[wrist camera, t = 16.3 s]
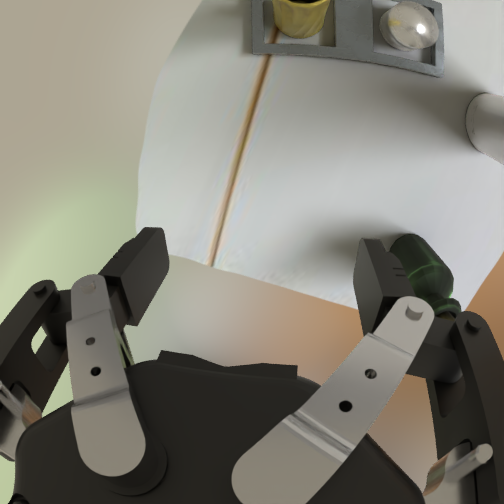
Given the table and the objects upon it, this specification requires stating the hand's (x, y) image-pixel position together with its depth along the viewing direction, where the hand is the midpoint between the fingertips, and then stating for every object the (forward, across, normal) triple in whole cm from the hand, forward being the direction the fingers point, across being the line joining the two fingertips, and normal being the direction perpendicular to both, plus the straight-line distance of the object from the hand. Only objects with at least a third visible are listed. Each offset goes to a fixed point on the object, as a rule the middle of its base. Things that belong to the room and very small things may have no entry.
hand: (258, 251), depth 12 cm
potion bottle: (+28, -20, +16) cm, 38 cm away
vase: (+28, -2, -16) cm, 33 cm away
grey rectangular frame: (+28, -8, -16) cm, 33 cm away
